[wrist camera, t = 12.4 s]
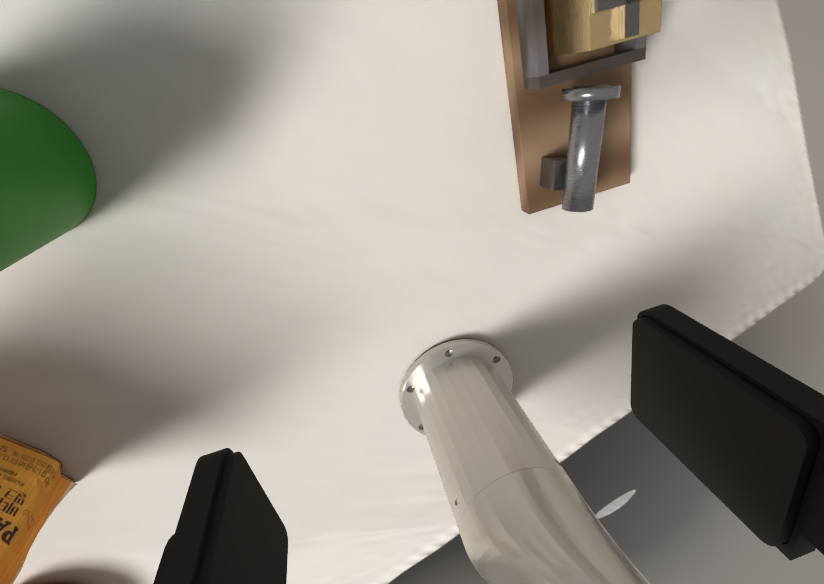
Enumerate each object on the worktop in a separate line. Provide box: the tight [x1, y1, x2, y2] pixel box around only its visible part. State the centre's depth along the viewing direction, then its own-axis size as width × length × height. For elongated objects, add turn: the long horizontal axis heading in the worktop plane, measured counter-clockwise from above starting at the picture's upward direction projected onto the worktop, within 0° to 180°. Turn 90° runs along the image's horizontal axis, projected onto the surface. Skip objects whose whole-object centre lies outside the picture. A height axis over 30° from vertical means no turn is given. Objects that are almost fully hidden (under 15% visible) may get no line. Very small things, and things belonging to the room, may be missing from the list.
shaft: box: [540, 84, 621, 212], centre depth 34 cm, size 9×4×7 cm, turn 4°
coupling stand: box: [497, 0, 646, 214], centre depth 31 cm, size 29×10×4 cm, turn 14°
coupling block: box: [544, 0, 661, 57], centre depth 28 cm, size 5×5×7 cm
